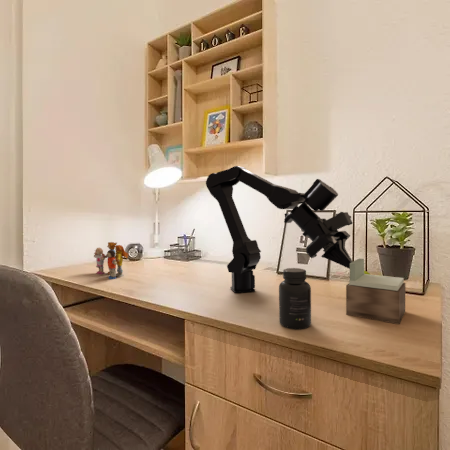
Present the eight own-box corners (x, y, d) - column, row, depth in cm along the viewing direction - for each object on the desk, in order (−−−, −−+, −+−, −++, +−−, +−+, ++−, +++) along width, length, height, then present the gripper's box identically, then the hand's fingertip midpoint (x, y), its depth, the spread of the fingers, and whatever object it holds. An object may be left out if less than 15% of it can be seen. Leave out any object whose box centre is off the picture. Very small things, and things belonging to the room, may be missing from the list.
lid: (349, 284, 71) (349, 263, 71) (359, 277, 79) (359, 258, 79) (397, 290, 65) (397, 267, 65) (403, 282, 73) (403, 261, 73)
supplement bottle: (275, 319, 69) (275, 267, 69) (304, 318, 70) (304, 266, 69) (284, 331, 62) (283, 273, 62) (316, 329, 63) (316, 272, 62)
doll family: (92, 272, 129) (91, 242, 128) (114, 269, 135) (113, 240, 135) (112, 280, 113) (111, 245, 113) (136, 276, 120) (135, 243, 119)
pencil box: (346, 314, 72) (346, 285, 71) (356, 304, 80) (357, 277, 79) (399, 324, 65) (399, 292, 65) (405, 311, 73) (405, 283, 73)
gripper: (318, 200, 70) (370, 251, 64) (342, 202, 85) (386, 243, 79) (287, 233, 75) (332, 283, 69) (315, 229, 90) (354, 270, 84)
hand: (353, 268), depth 75 cm, fingers closed, pressing on lid
